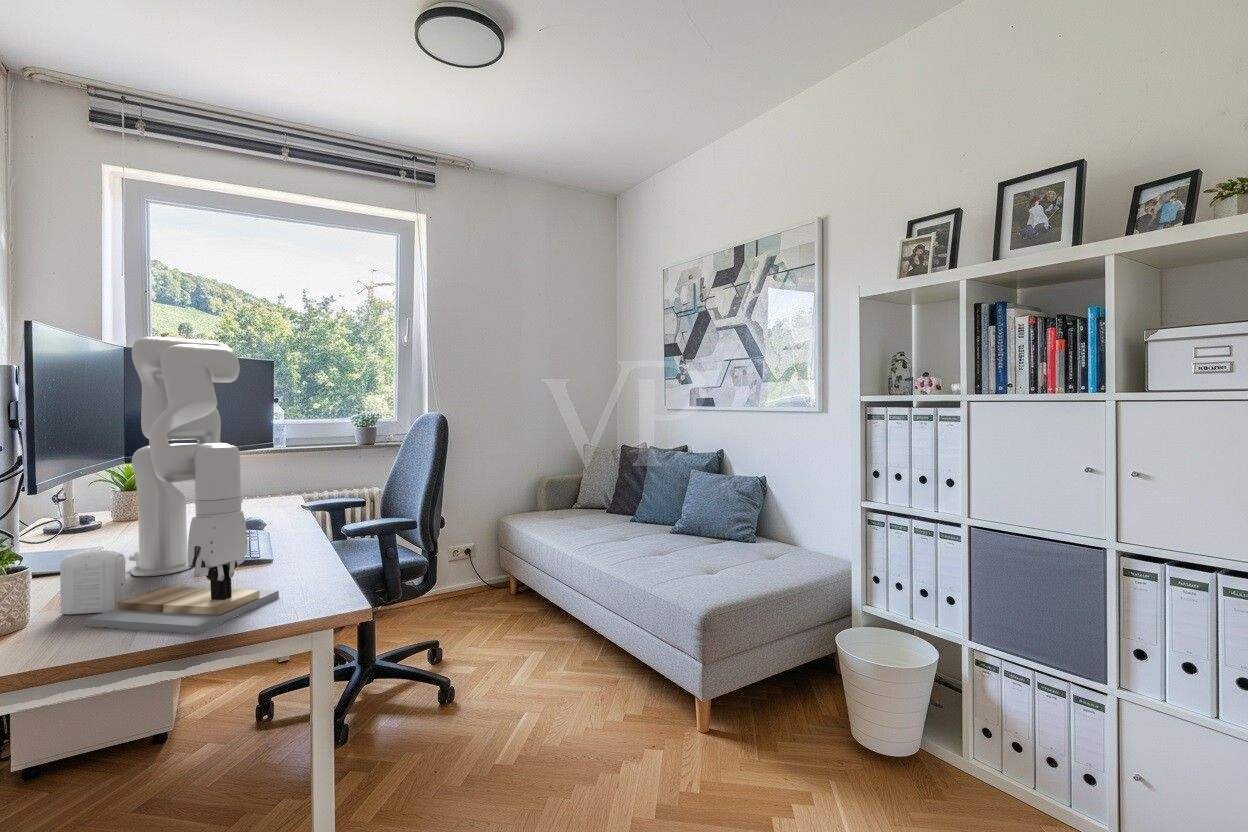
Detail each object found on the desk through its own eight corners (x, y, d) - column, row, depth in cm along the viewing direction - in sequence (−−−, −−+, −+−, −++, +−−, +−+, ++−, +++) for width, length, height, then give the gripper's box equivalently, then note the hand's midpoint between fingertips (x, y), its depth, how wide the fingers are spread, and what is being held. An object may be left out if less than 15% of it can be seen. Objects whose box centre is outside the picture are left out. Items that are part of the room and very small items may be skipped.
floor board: (86, 626, 109) (86, 618, 109) (182, 591, 129) (182, 585, 129) (197, 634, 106) (197, 626, 106) (278, 597, 125) (278, 590, 125)
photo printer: (130, 605, 121) (128, 546, 120) (117, 612, 116) (115, 551, 116) (71, 609, 118) (70, 549, 118) (56, 617, 114) (54, 555, 114)
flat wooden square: (117, 609, 114) (117, 601, 114) (165, 592, 124) (165, 585, 124) (161, 612, 113) (161, 604, 112) (206, 595, 122) (206, 588, 122)
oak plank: (162, 612, 112) (162, 604, 112) (207, 595, 122) (207, 588, 122) (219, 615, 111) (218, 607, 111) (259, 597, 120) (259, 590, 120)
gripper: (232, 501, 123) (235, 586, 124) (167, 513, 109) (170, 611, 109) (264, 501, 122) (266, 587, 122) (202, 514, 107) (205, 612, 108)
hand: (221, 598), depth 116 cm, fingers closed
